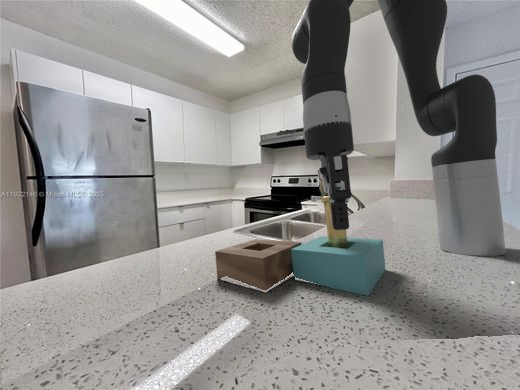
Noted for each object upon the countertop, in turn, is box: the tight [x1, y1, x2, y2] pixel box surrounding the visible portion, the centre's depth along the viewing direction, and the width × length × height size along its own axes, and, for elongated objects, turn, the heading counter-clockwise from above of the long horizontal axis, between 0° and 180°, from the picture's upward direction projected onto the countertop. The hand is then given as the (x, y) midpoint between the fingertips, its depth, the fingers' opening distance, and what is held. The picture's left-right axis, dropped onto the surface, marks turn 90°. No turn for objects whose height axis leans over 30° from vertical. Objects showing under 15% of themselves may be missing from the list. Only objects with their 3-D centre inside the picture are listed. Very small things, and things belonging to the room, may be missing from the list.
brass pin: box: [320, 196, 348, 249], centre depth 35 cm, size 4×4×13 cm
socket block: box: [291, 235, 387, 297], centre depth 35 cm, size 11×11×5 cm
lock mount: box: [214, 238, 302, 291], centre depth 38 cm, size 11×11×5 cm
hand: (336, 225), depth 35 cm, fingers open, 8 cm apart
